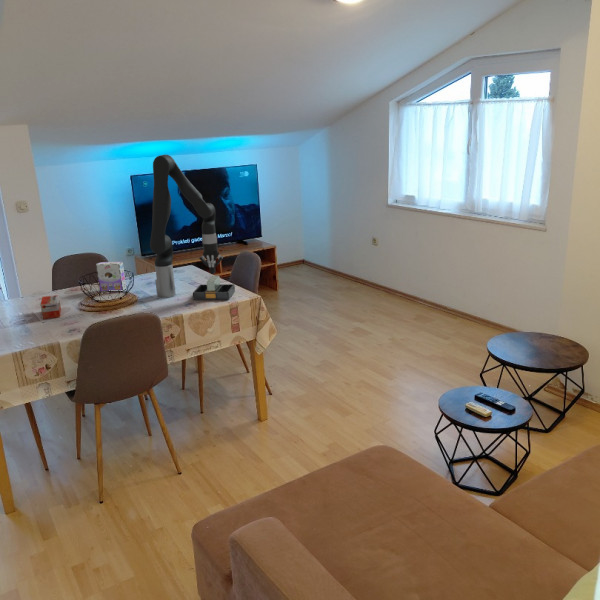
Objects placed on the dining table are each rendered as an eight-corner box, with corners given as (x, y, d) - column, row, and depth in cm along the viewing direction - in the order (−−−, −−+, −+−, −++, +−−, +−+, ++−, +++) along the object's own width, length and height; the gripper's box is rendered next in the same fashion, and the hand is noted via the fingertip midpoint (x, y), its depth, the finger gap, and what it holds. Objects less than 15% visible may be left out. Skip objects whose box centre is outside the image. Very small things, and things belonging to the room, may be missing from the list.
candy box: (126, 289, 333) (123, 261, 328) (123, 292, 327) (119, 263, 322) (103, 289, 334) (99, 261, 329) (99, 292, 329) (95, 264, 324)
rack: (193, 300, 307) (192, 292, 305) (201, 291, 321) (200, 284, 320) (228, 300, 305) (228, 292, 303) (234, 291, 319) (234, 283, 318)
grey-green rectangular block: (208, 298, 307) (206, 281, 305) (213, 291, 319) (212, 275, 316) (215, 298, 307) (214, 281, 304) (220, 291, 318) (219, 275, 316)
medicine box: (60, 317, 288) (57, 302, 286) (42, 320, 286) (40, 304, 283) (61, 309, 302) (58, 294, 299) (44, 311, 299) (41, 296, 297)
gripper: (195, 243, 301) (198, 275, 306) (220, 243, 300) (223, 275, 305) (199, 240, 308) (202, 272, 314) (223, 240, 307) (226, 271, 312)
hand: (212, 273), depth 309 cm, fingers closed
